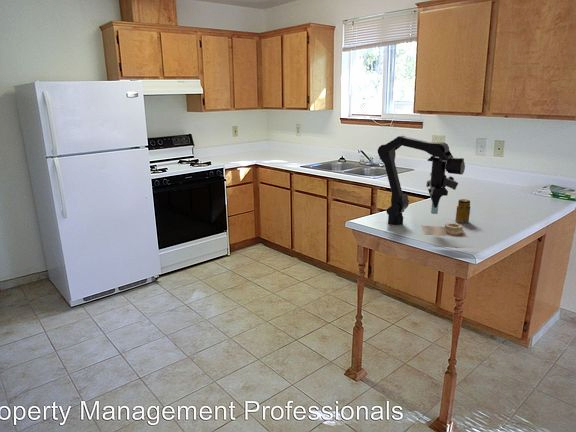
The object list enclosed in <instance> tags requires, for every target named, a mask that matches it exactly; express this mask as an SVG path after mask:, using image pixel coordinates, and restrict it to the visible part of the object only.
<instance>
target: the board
mask: <svg viewBox="0 0 576 432" xmlns="http://www.w3.org/2000/svg"><path fill="white" fill-rule="evenodd" d="M421 228H422V231H423V234H424V235H425V236H445V237H466V238H468V235H467V234H466V232H465V231H464V229H463V228H462V233H461V234H449V233H446V232H445V231H444V229H445V226H435V225H421Z"/></svg>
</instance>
